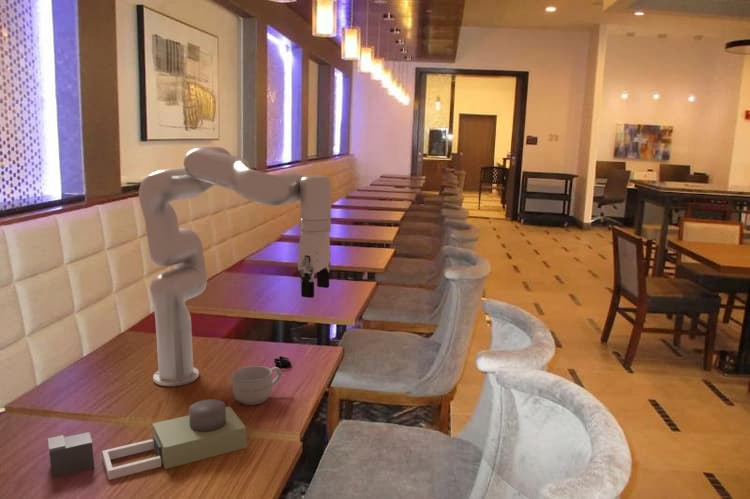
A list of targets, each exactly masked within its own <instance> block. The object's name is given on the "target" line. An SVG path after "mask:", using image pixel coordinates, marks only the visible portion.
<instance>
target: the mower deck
mask: <svg viewBox="0 0 750 499" xmlns="http://www.w3.org/2000/svg"><path fill="white" fill-rule="evenodd" d="M152 437H153V439H152V438H151V439H147V440H143V441H139V442H134V443H130V444H126V445H121V446H117V447H113V448H109V449H105V450H102V451H101V452H102V455H101V456H102V460H103V461H102V462H103V465H104V468H105V472H106V475H107V479H108V481H110V480H113V479H118V478H122V477H125V476H129V475H133V474H137V473H140V472H141V473H142V472H145V471H148V470H149V471H150V470H152V469H155V468H156V469H157V468H160V467H162V465H163V467H164V469H165V470H167V469H171V468H175V467H178V466H181V465H185V464H189V463H193V462H197V461H201V460H202V461H203V460H205V459H210V458H212V457H216V456H221V455H224V454H227V453H232V452H235V451H240V450H243V449H246V448H247V447H248V446H247V445H248V443H247V442H248V441H247V427H246V425H245V424H244V423H243V422H242V420H241V419H240V418H239V416H238V415H237V414H236V413H235V410H233V408H232V407H231V406H230V405H229V406H226V403H225V402H223V401H222V400H219V399H211V398H210V399H204V400H199V401H197V402H194V403H192V404H191V405H190V406H189V408H188V415H184V416H180V417H175V418H172V419H167V420H162V421H157V422H154V423H152ZM152 450H155V453H156V455H157V456H153V457H149V458H146V459H145V458H144V459H142V460H141V459H140V460H137V461H134V462H130V463H125V464H121V465H118V466H114V467H113V466H112V465H113V464H112V462H111V460H116V459H118V458H124V457H126V456H131V455H134V454H139V453H140V454H141V453H143V452H147V451H152Z"/></svg>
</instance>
